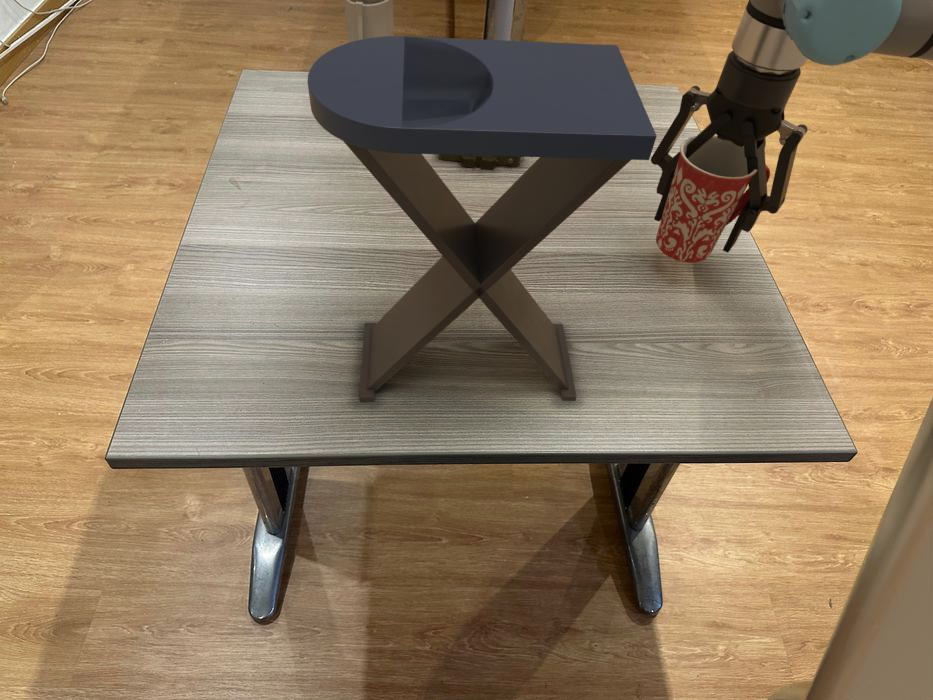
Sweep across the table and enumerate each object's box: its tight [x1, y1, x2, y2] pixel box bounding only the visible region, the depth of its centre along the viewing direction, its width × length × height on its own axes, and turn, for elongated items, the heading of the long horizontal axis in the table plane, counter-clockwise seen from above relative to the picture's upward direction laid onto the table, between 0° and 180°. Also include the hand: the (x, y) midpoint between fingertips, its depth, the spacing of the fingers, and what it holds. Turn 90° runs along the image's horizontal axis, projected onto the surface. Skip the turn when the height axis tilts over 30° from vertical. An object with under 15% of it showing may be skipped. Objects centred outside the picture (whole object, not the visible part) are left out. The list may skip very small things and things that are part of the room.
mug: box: [655, 135, 771, 264], centre depth 80 cm, size 13×9×14 cm
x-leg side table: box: [307, 35, 658, 402], centre depth 62 cm, size 26×14×34 cm, turn 93°
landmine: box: [438, 154, 522, 170], centre depth 104 cm, size 14×3×15 cm
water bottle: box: [343, 0, 395, 43], centre depth 98 cm, size 9×8×25 cm
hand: (694, 230), depth 84 cm, fingers closed on mug, 9 cm apart
